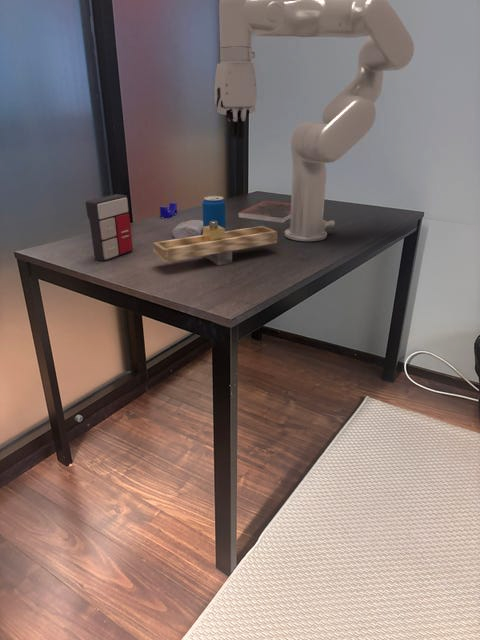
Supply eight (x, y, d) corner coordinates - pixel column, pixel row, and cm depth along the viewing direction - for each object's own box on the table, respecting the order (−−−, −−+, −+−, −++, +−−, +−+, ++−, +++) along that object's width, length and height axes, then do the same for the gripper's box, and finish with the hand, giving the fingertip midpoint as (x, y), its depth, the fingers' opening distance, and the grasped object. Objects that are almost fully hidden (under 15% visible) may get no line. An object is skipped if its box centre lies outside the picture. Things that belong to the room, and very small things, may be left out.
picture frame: (282, 224, 159) (305, 211, 176) (282, 217, 157) (305, 204, 175) (238, 219, 165) (264, 206, 183) (238, 211, 164) (264, 200, 182)
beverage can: (228, 237, 143) (228, 196, 137) (220, 243, 137) (220, 201, 132) (208, 235, 144) (207, 195, 139) (200, 241, 139) (198, 199, 134)
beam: (261, 246, 134) (261, 224, 132) (277, 254, 128) (278, 231, 125) (153, 265, 120) (151, 241, 117) (166, 275, 114) (164, 250, 111)
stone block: (171, 245, 142) (203, 240, 139) (167, 229, 140) (200, 224, 137) (183, 236, 152) (213, 231, 150) (179, 221, 150) (210, 216, 148)
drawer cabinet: (104, 262, 122) (97, 203, 115) (93, 259, 124) (84, 201, 117) (135, 251, 130) (129, 195, 124) (123, 248, 132) (117, 193, 126)
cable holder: (169, 219, 163) (168, 207, 161) (160, 218, 164) (159, 206, 162) (181, 214, 169) (180, 203, 168) (172, 213, 171) (171, 202, 169)
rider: (216, 239, 124) (216, 218, 122) (225, 244, 121) (224, 222, 118) (203, 242, 122) (202, 220, 120) (211, 246, 119) (210, 224, 116)
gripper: (252, 58, 122) (252, 135, 130) (201, 57, 115) (204, 138, 123) (270, 56, 116) (269, 137, 124) (217, 55, 109) (219, 141, 117)
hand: (237, 137), depth 123 cm, fingers closed
